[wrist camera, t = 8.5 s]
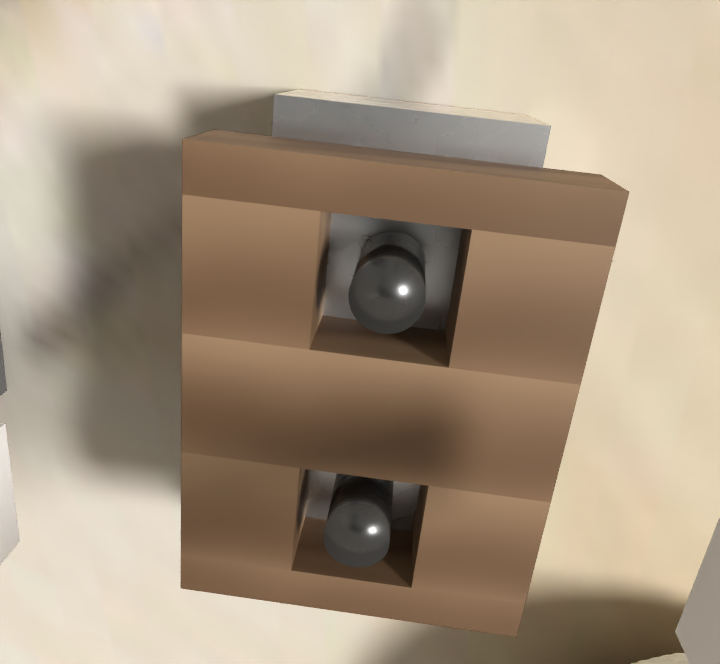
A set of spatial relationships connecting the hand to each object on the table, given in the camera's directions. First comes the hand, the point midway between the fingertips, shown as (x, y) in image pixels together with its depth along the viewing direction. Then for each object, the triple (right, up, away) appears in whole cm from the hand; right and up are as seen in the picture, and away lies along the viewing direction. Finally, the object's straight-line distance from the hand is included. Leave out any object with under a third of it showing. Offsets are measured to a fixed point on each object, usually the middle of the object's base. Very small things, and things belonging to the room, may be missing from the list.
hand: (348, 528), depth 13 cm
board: (+1, +2, +7) cm, 8 cm away
